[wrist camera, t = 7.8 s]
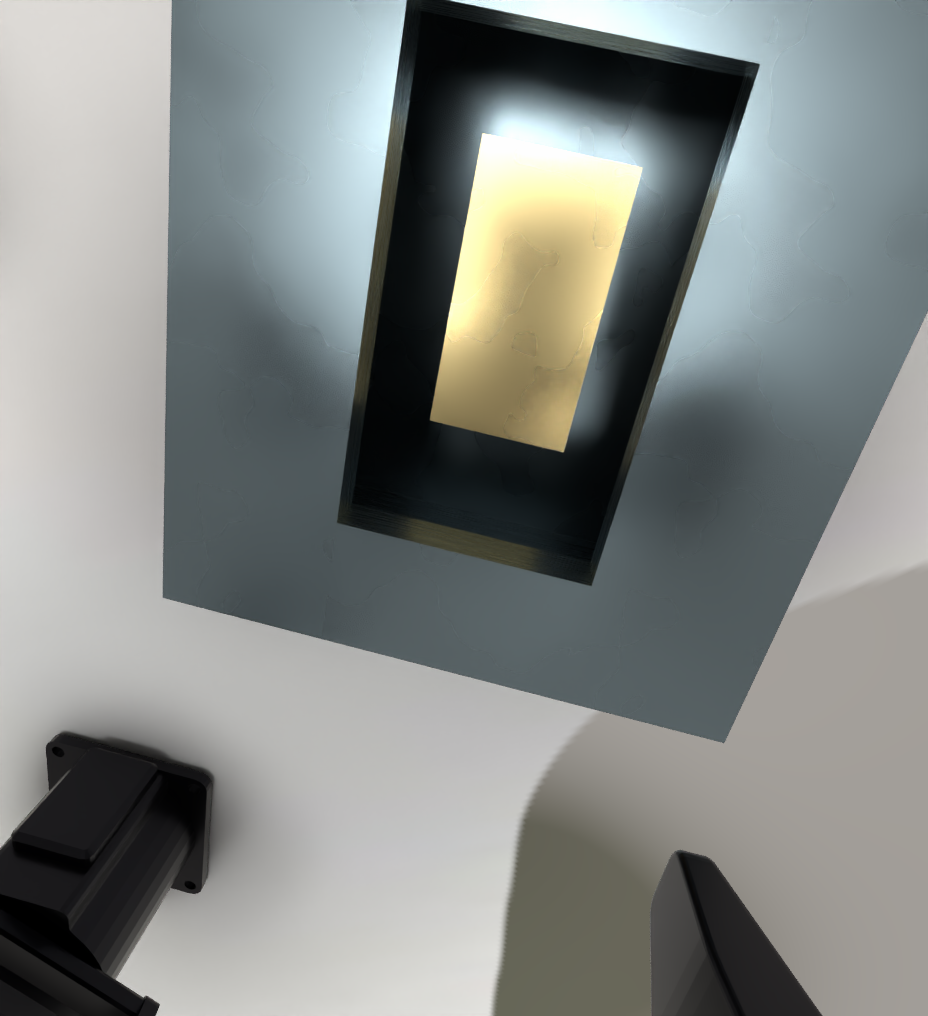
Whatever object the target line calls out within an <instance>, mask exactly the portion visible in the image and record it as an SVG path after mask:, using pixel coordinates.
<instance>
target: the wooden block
mask: <svg viewBox="0 0 928 1016" xmlns="http://www.w3.org/2000/svg"><path fill="white" fill-rule="evenodd" d="M641 171H642V168H641V167H637V166H632V165H627V164H623V163H618V162H613V161H609V160H604V159H599V158H595V157H590V156H586V155H581V154H576V153H572V152H567V151H562V150H558V149H553V148H548V147H544V146H539V145H534V144H530V143H525V142H520V141H516V140H511V139H506V138H502V137H497V136H492V135H488V134H482V140H481V145H480V151H479V156H478V161H477V167H476V172H475V178H474V183H473V189H472V194H471V199H470V205H469V210H468V216H467V221H466V226H465V232H464V237H463V243H462V248H461V253H460V259H459V264H458V270H457V275H456V280H455V286H454V291H453V297H452V302H451V307H450V313H449V318H448V324H447V329H446V334H445V340H444V345H443V351H442V356H441V361H440V367H439V372H438V378H437V383H436V388H435V394H434V399H433V405H432V410H431V415H430V421H434V422H438V423H443V424H447V425H451V426H455V427H459V428H464V429H468V430H472V431H476V432H480V433H485V434H489V435H493V436H497V437H501V438H505V439H510V440H514V441H518V442H522V443H526V444H531V445H535V446H539V447H543V448H547V449H551V450H556V451H560V452H564V449H565V446H566V442H567V439H568V435H569V431H570V428H571V424H572V421H573V417H574V413H575V410H576V406H577V403H578V399H579V395H580V392H581V388H582V384H583V381H584V377H585V374H586V370H587V366H588V363H589V359H590V356H591V352H592V348H593V345H594V341H595V338H596V334H597V330H598V327H599V323H600V319H601V316H602V312H603V309H604V305H605V301H606V298H607V294H608V291H609V287H610V283H611V280H612V276H613V272H614V269H615V265H616V262H617V258H618V254H619V251H620V247H621V244H622V240H623V236H624V233H625V229H626V226H627V222H628V218H629V215H630V211H631V207H632V204H633V200H634V197H635V193H636V189H637V186H638V182H639V179H640V175H641Z"/></svg>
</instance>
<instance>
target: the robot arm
mask: <svg viewBox="0 0 928 1016" xmlns="http://www.w3.org/2000/svg"><path fill="white" fill-rule="evenodd" d="M46 756H47V769H48V781H49V792H48V793H47V795H46V796H45V797H44V798H43V799H42V800H41V801H40V802H39V803H38V804H37V806H36V807H35V808H34V809H33V810H32V811H31V812H30V813H29V814H28V815H27V817H26V818H25V819H24V820H23V821H22V822H21V823H20V824H19V825H18V826H17V828H16V829H15V830H14V831H13V833H12V834H11V837H10V838H9V839H8V840H7V841H6V842H5V844H4V845H3V846H2V847H1V848H0V1016H156V1013H157V1011H158V1008H159V1006H160V1004H159V1003H157V1002H156V1001H154V1000H153V999H151V998H150V997H148V996H145V997H144V998H143V997H142V996H140V995H138V994H137V993H135V992H134V991H132V990H131V989H129V988H127V987H126V986H124V985H123V984H121V983H120V982H118V981H117V980H115V979H116V978H117V976H118V974H119V973H120V971H121V969H122V968H123V966H124V964H125V963H126V961H127V959H128V958H129V956H130V954H131V953H132V951H133V949H134V948H135V946H136V944H137V943H138V941H139V939H140V938H141V936H142V934H143V933H144V931H145V929H146V928H147V926H148V924H149V923H150V921H151V919H152V918H153V916H154V914H155V913H156V911H157V909H158V908H159V906H160V904H161V903H162V901H163V899H164V898H165V896H166V894H167V893H168V891H169V889H170V888H173V889H177V890H180V891H184V892H187V893H192V894H196V893H199V892H200V891H201V890H202V888H203V886H204V884H205V882H206V879H207V862H208V845H209V828H210V811H211V794H212V782H211V779H210V778H209V777H208V776H207V775H206V774H204V773H202V772H199V771H196V770H192V769H188V768H185V767H181V766H177V765H174V764H170V763H166V762H163V761H159V760H155V759H152V758H148V757H144V756H141V755H137V754H133V753H130V752H126V751H122V750H119V749H115V748H111V747H108V746H104V745H100V744H97V743H93V742H89V741H86V740H82V739H78V738H75V737H71V736H67V735H62V734H59V735H56V736H55V737H54V738H53V739H52V740H51V741H50V742H49V743H48V744H47V745H46ZM650 942H651V1016H822V1015H821V1013H820V1012H819V1010H818V1009H817V1008H816V1006H815V1005H814V1003H813V1002H812V1000H811V999H810V998H809V996H808V995H807V993H806V992H805V991H804V989H803V988H802V986H801V985H800V983H799V982H798V981H797V979H796V978H795V976H794V975H793V974H792V972H791V971H790V969H789V968H788V966H787V965H786V964H785V962H784V961H783V959H782V958H781V956H780V955H779V954H778V952H777V951H776V949H775V948H774V947H773V945H772V944H771V942H770V941H769V939H768V938H767V937H766V935H765V934H764V932H763V931H762V929H761V928H760V927H759V925H758V924H757V922H756V921H755V920H754V918H753V917H752V916H751V914H750V912H749V911H748V910H747V908H746V907H745V905H744V904H743V903H742V901H741V900H740V898H739V897H738V895H737V894H736V893H735V892H734V890H733V888H732V887H731V886H730V884H729V883H728V881H727V880H726V878H725V877H724V876H723V874H722V873H721V872H720V870H719V868H718V867H717V866H716V864H715V863H714V862H713V861H712V860H711V859H710V858H708V857H706V856H702V855H698V854H694V853H690V852H687V851H682V850H677V851H675V852H674V853H673V854H672V855H671V857H670V859H669V861H668V863H667V865H666V868H665V870H664V872H663V875H662V877H661V879H660V881H659V884H658V886H657V888H656V891H655V893H654V895H653V899H652V903H651V911H650Z"/></svg>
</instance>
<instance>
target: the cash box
mask: <svg viewBox="0 0 928 1016" xmlns="http://www.w3.org/2000/svg"><path fill="white" fill-rule="evenodd" d="M482 134H488V135H492V136H497V137H502V138H506V139H511V140H516V141H520V142H525V143H530V144H534V145H539V146H544V147H548V148H553V149H558V150H562V151H567V152H572V153H576V154H581V155H586V156H590V157H595V158H599V159H604V160H609V161H613V162H618V163H623V164H627V165H632V166H637V167H641V168H642V171H641V175H640V179H639V182H638V186H637V189H636V193H635V197H634V200H633V204H632V207H631V211H630V215H629V218H628V222H627V226H626V229H625V233H624V236H623V240H622V244H621V247H620V251H619V254H618V258H617V262H616V265H615V269H614V272H613V276H612V280H611V283H610V287H609V291H608V294H607V298H606V301H605V305H604V309H603V312H602V316H601V319H600V323H599V327H598V330H597V334H596V338H595V341H594V345H593V348H592V352H591V356H590V359H589V363H588V366H587V370H586V374H585V377H584V381H583V384H582V388H581V392H580V395H579V399H578V403H577V406H576V410H575V413H574V417H573V421H572V424H571V428H570V431H569V435H568V439H567V442H566V446H565V449H564V452H560V451H556V450H551V449H547V448H543V447H539V446H535V445H531V444H526V443H522V442H518V441H514V440H510V439H505V438H501V437H497V436H493V435H489V434H485V433H480V432H476V431H472V430H468V429H464V428H459V427H455V426H451V425H447V424H443V423H438V422H434V421H430V415H431V410H432V405H433V399H434V394H435V388H436V383H437V378H438V372H439V367H440V361H441V356H442V351H443V345H444V340H445V334H446V329H447V324H448V318H449V313H450V307H451V302H452V297H453V291H454V286H455V280H456V275H457V270H458V264H459V259H460V253H461V248H462V243H463V237H464V232H465V226H466V221H467V216H468V210H469V205H470V199H471V194H472V189H473V183H474V178H475V172H476V167H477V161H478V156H479V151H480V145H481V140H482ZM927 312H928V0H172V28H171V93H170V158H169V223H168V288H167V354H166V419H165V484H164V549H163V598H166V599H170V600H174V601H177V602H181V603H185V604H189V605H193V606H197V607H201V608H204V609H208V610H212V611H216V612H220V613H224V614H228V615H231V616H235V617H239V618H243V619H247V620H251V621H255V622H259V623H262V624H266V625H270V626H274V627H278V628H282V629H286V630H289V631H293V632H297V633H301V634H305V635H309V636H313V637H316V638H320V639H324V640H328V641H332V642H336V643H340V644H344V645H347V646H351V647H355V648H359V649H363V650H367V651H371V652H374V653H378V654H382V655H386V656H390V657H394V658H398V659H401V660H405V661H409V662H413V663H417V664H421V665H425V666H429V667H432V668H436V669H440V670H444V671H448V672H452V673H456V674H459V675H463V676H467V677H471V678H475V679H479V680H483V681H486V682H490V683H494V684H498V685H502V686H506V687H510V688H514V689H517V690H521V691H525V692H529V693H533V694H537V695H541V696H544V697H548V698H552V699H556V700H560V701H564V702H568V703H572V704H575V705H579V706H583V707H587V708H591V709H595V710H599V711H602V712H606V713H610V714H614V715H618V716H622V717H626V718H630V719H633V720H637V721H641V722H645V723H649V724H653V725H657V726H660V727H664V728H668V729H672V730H676V731H680V732H684V733H687V734H691V735H695V736H699V737H703V738H707V739H711V740H714V741H718V742H722V743H724V742H725V740H726V738H727V736H728V734H729V731H730V730H731V727H732V725H733V723H734V721H735V719H736V717H737V715H738V712H739V710H740V708H741V706H742V704H743V702H744V700H745V698H746V696H747V693H748V691H749V689H750V687H751V685H752V683H753V681H754V679H755V676H756V674H757V672H758V670H759V668H760V666H761V664H762V662H763V660H764V657H765V655H766V653H767V651H768V649H769V647H770V644H771V643H772V640H773V638H774V636H775V634H776V632H777V630H778V628H779V626H780V623H781V621H782V619H783V617H784V615H785V613H786V611H787V609H788V607H789V604H790V602H791V600H792V598H793V596H794V594H795V592H796V590H797V587H798V585H799V583H800V581H801V579H802V577H803V575H804V573H805V570H806V568H807V566H808V564H809V562H810V560H811V558H812V556H813V553H814V551H815V549H816V547H817V545H818V543H819V541H820V539H821V537H822V534H823V532H824V530H825V528H826V526H827V524H828V522H829V520H830V517H831V515H832V513H833V511H834V509H835V507H836V505H837V503H838V500H839V498H840V496H841V494H842V492H843V490H844V488H845V486H846V484H847V481H848V479H849V477H850V475H851V473H852V471H853V469H854V467H855V464H856V462H857V460H858V458H859V456H860V454H861V452H862V450H863V447H864V445H865V443H866V441H867V439H868V437H869V435H870V433H871V430H872V428H873V426H874V424H875V422H876V420H877V418H878V416H879V414H880V411H881V409H882V407H883V405H884V403H885V401H886V399H887V397H888V394H889V392H890V390H891V388H892V386H893V384H894V382H895V380H896V377H897V375H898V373H899V371H900V369H901V367H902V365H903V363H904V361H905V358H906V356H907V354H908V352H909V350H910V348H911V346H912V344H913V341H914V339H915V337H916V335H917V333H918V331H919V329H920V327H921V324H922V322H923V320H924V318H925V316H926V314H927Z"/></svg>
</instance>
